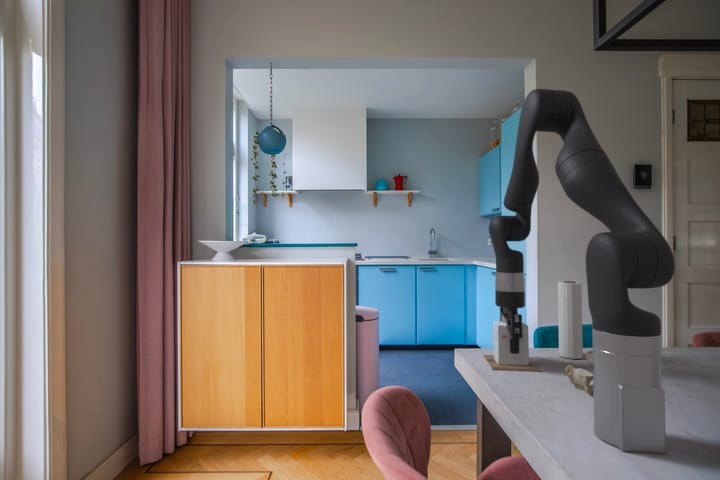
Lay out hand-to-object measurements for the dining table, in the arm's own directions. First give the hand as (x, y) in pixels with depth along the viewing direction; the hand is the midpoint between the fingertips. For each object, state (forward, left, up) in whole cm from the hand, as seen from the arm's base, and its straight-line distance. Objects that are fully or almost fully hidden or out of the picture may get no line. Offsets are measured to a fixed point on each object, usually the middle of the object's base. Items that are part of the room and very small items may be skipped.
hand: (510, 349), depth 106 cm
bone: (-20, -11, -4) cm, 23 cm away
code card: (0, 0, -4) cm, 4 cm away
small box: (0, 0, -4) cm, 4 cm away
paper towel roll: (+9, -19, -4) cm, 21 cm away
